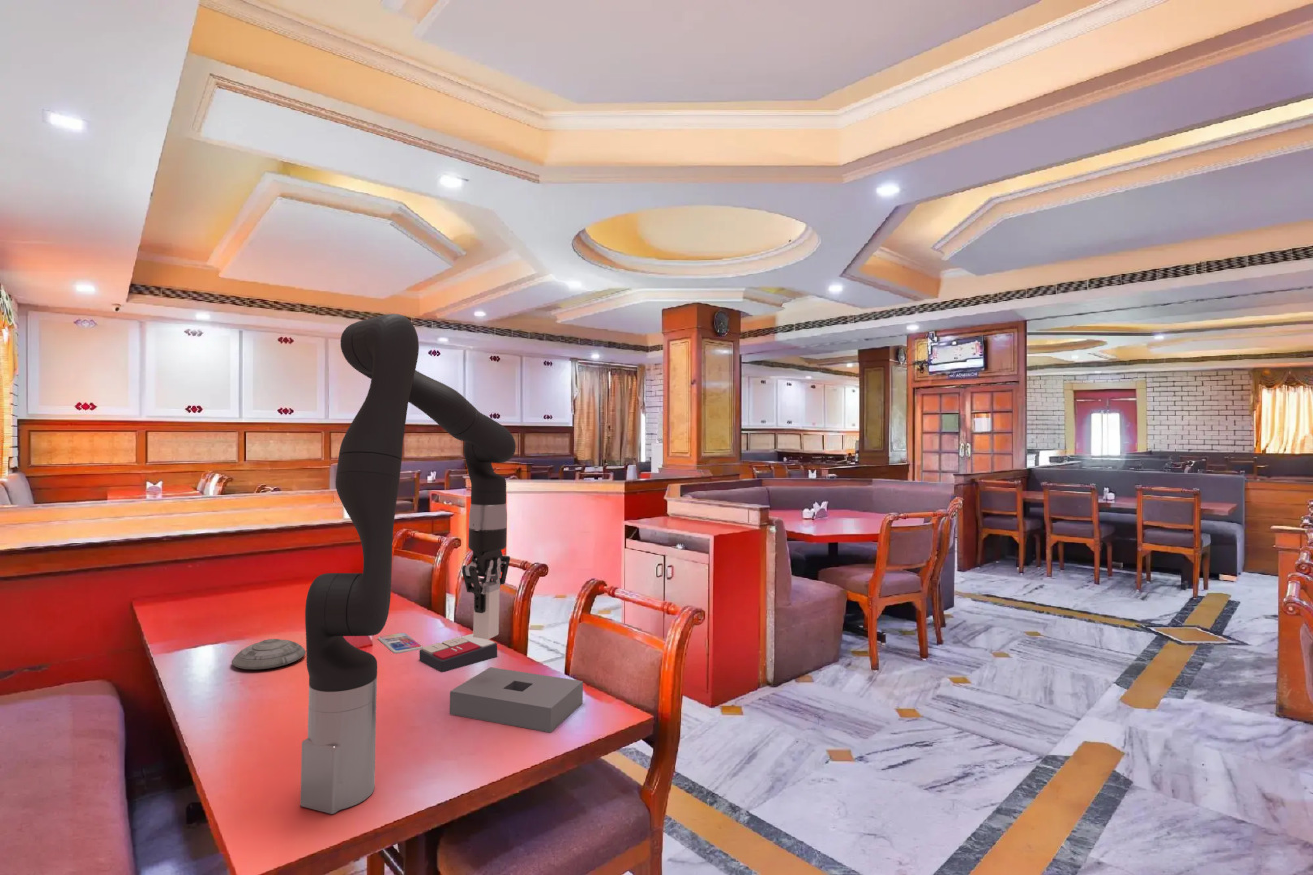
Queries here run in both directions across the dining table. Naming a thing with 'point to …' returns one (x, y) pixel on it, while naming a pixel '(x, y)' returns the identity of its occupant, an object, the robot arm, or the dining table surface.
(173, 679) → the dining table surface
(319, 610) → the robot arm
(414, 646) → the smartphone
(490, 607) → the pale square peg
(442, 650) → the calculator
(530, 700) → the header
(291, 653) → the flying saucer
